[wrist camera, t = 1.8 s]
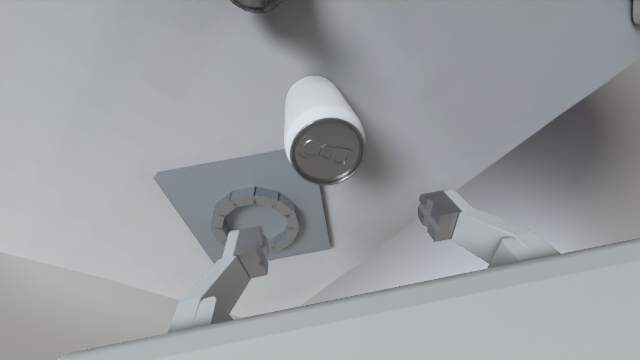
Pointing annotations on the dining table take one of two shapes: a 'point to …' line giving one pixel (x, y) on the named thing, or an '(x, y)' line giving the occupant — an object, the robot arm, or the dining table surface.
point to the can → (322, 132)
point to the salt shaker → (256, 5)
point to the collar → (261, 198)
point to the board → (257, 170)
